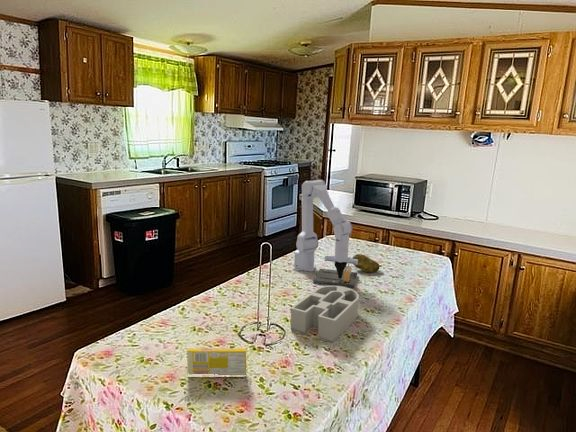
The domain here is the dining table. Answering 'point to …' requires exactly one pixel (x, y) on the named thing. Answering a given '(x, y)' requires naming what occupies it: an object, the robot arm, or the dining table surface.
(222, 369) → the candy box
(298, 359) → the dining table surface
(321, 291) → the grey compartment organizer
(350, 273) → the fader far
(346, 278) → the fader near
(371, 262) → the potato
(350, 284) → the console
